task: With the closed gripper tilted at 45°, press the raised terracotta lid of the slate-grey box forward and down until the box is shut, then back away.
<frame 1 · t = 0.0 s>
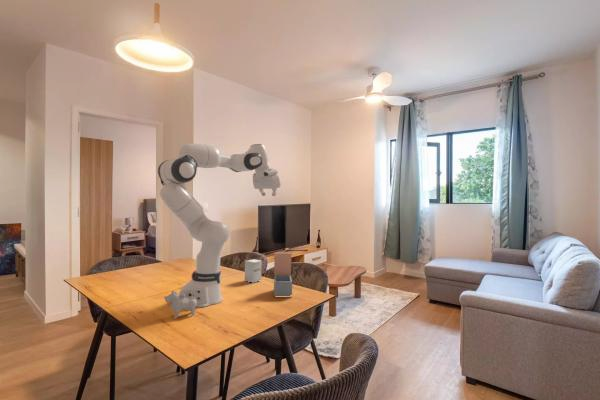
hand: (269, 195, 173), 52 cm above the table, tool tilted 20°, fingers open, 8 cm apart
box: (282, 293, 160), on the table
grey dog figurine: (181, 316, 127), on the table
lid: (282, 263, 165), point 15 cm above the table, hinge at 75.0°
white cylinder: (252, 281, 182), on the table
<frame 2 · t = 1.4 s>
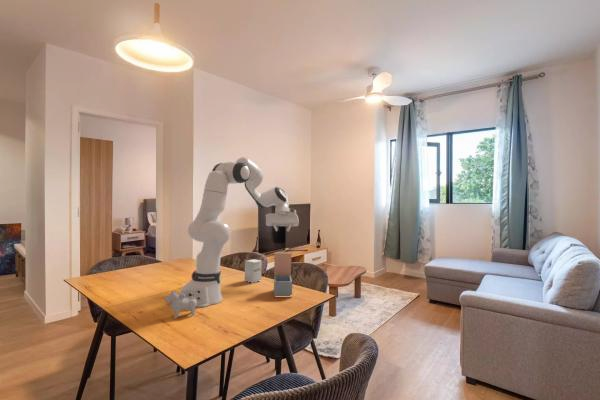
hand: (282, 230, 179), 31 cm above the table, tool tilted 45°, fingers open, 5 cm apart
nothing on the table moved.
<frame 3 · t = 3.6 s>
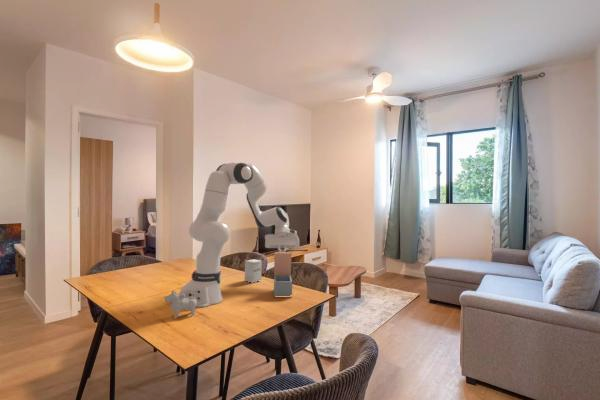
hand: (282, 253, 172), 19 cm above the table, tool tilted 45°, fingers closed
nothing on the table moved.
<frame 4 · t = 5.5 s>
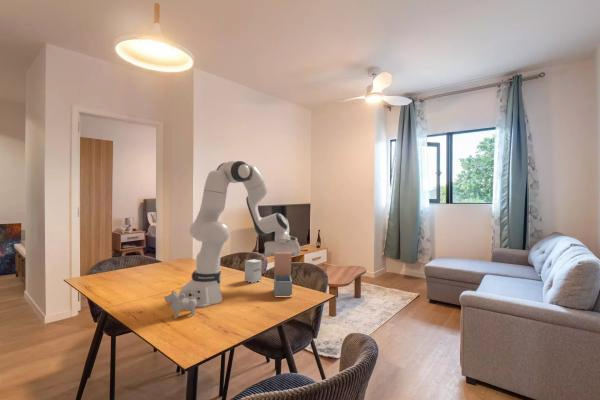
hand: (282, 261, 166), 16 cm above the table, tool tilted 45°, fingers closed, pressing on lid
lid: (282, 263, 165), point 15 cm above the table, hinge at 73.9°, touching gripper
everything else where it was.
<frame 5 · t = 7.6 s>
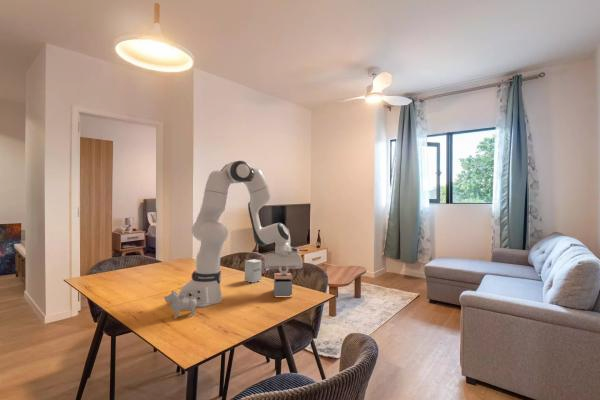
hand: (284, 275, 157), 11 cm above the table, tool tilted 45°, fingers closed, pressing on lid
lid: (282, 276, 160), point 9 cm above the table, hinge at 5.3°, touching gripper
everything else where it was.
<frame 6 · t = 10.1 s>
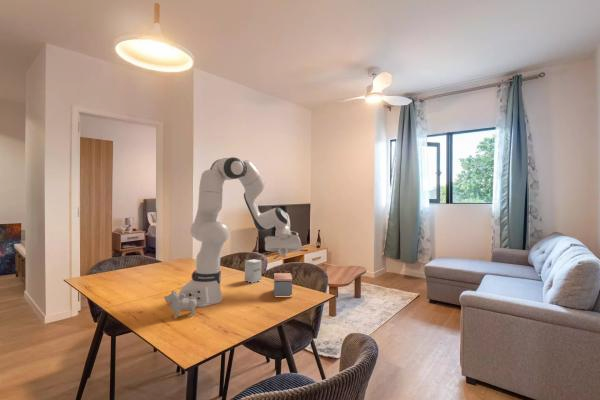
hand: (283, 256, 162), 19 cm above the table, tool tilted 45°, fingers closed
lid: (282, 277, 160), point 9 cm above the table, hinge at 1.1°
everything else where it was.
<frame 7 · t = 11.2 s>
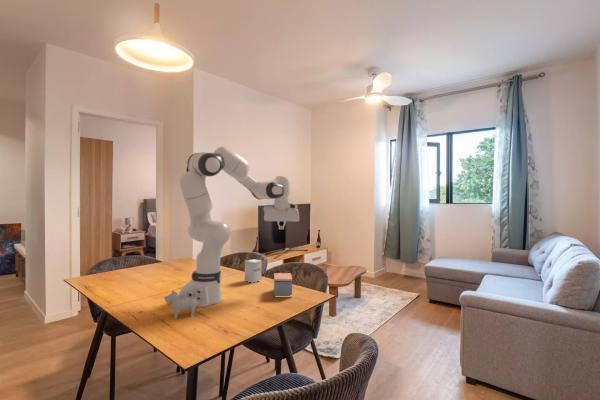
hand: (281, 229, 172), 33 cm above the table, tool pointing down, fingers closed
nothing on the table moved.
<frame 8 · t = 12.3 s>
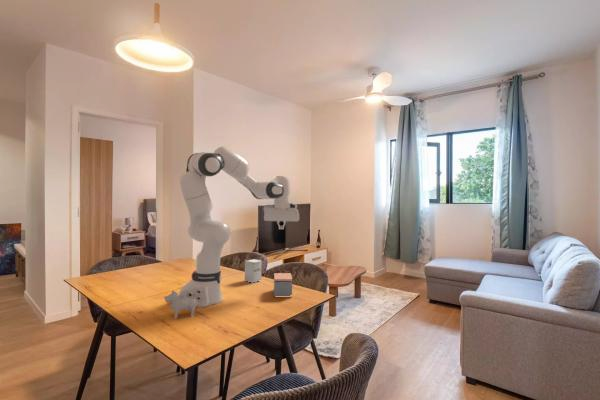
hand: (281, 229, 172), 33 cm above the table, tool pointing down, fingers closed
nothing on the table moved.
at the end: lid at +1° (first picture: +75°); white cylinder moved 0.2 cm from its start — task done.
